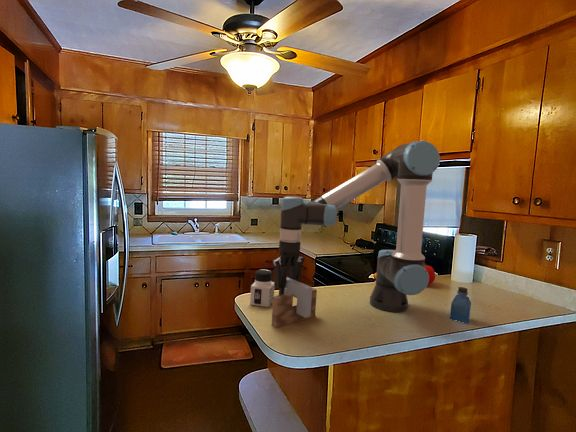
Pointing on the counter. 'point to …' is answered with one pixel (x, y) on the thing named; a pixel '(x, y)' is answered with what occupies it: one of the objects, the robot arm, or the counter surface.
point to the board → (289, 309)
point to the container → (262, 289)
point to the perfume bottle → (461, 306)
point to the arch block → (300, 296)
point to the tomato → (430, 274)
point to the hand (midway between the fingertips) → (286, 304)
